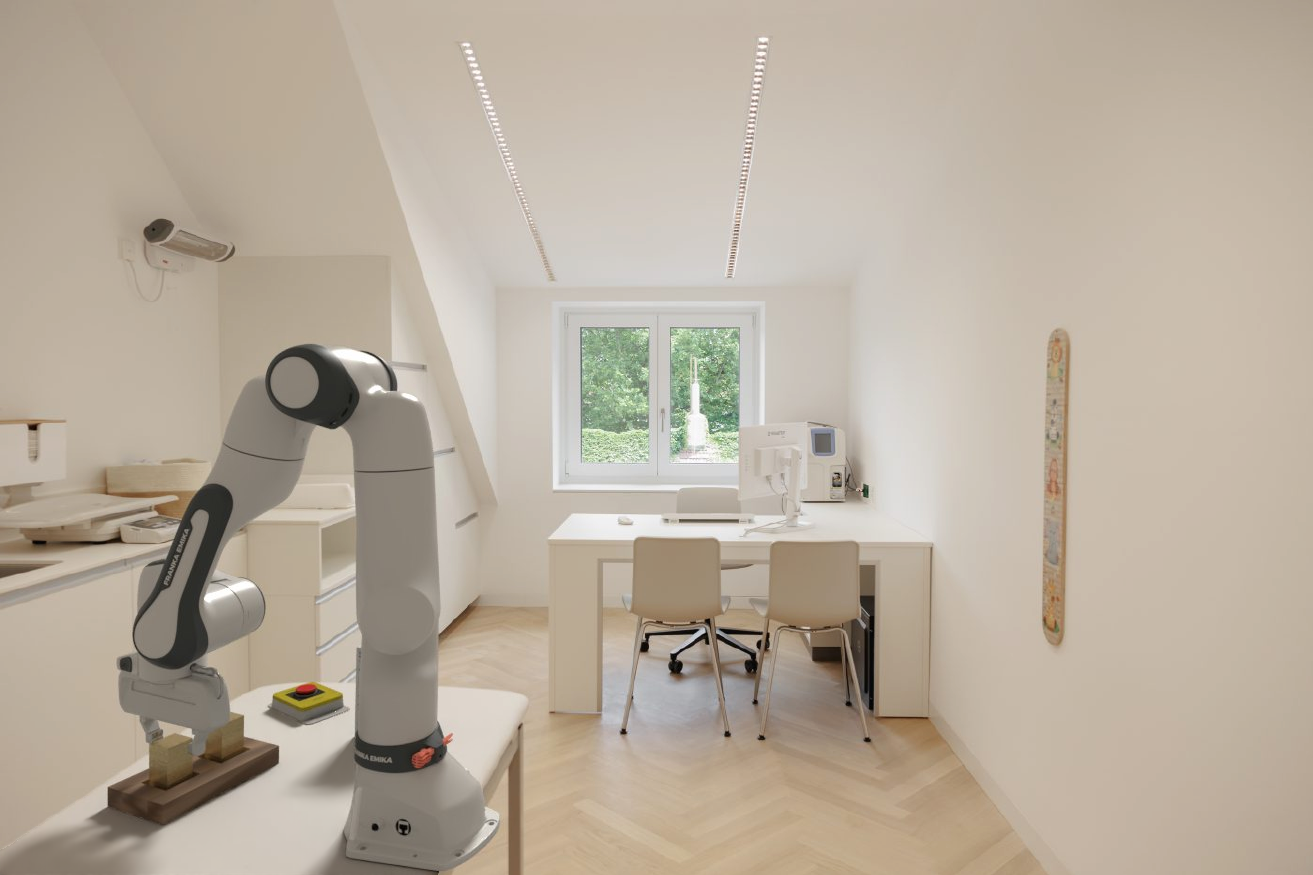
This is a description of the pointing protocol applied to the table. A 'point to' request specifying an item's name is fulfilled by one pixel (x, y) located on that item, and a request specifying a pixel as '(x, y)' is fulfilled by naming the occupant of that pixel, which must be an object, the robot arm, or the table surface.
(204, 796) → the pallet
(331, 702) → the emergency button
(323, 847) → the table surface
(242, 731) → the seated billet
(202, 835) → the table surface
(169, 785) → the block
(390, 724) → the robot arm
